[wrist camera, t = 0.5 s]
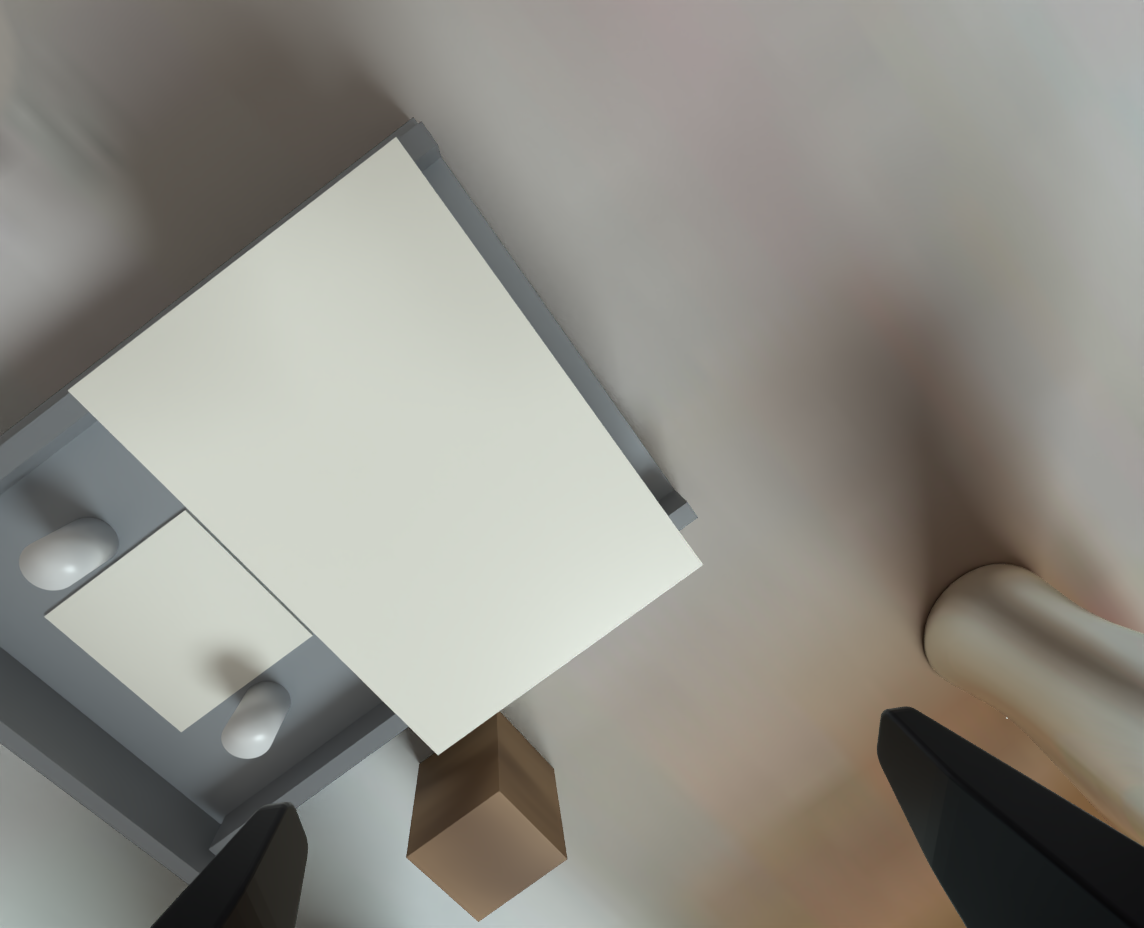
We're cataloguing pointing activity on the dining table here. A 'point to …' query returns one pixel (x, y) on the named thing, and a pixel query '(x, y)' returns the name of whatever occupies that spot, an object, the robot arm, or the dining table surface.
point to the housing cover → (394, 453)
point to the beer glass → (1050, 679)
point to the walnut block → (486, 818)
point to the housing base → (192, 615)
